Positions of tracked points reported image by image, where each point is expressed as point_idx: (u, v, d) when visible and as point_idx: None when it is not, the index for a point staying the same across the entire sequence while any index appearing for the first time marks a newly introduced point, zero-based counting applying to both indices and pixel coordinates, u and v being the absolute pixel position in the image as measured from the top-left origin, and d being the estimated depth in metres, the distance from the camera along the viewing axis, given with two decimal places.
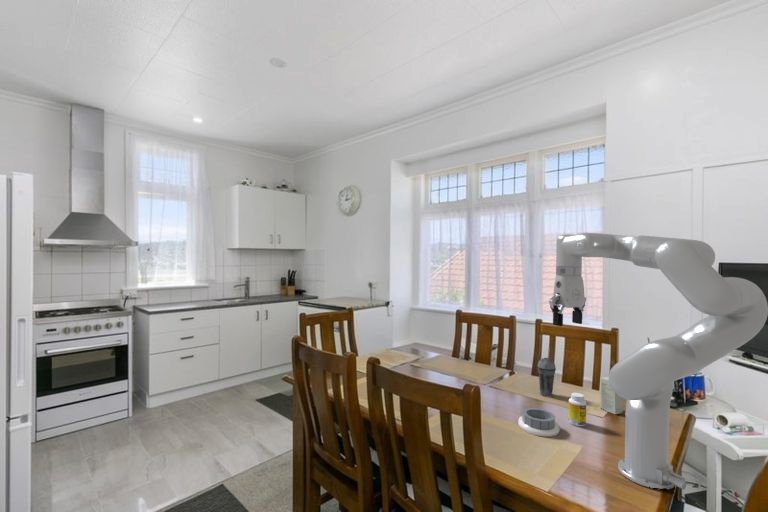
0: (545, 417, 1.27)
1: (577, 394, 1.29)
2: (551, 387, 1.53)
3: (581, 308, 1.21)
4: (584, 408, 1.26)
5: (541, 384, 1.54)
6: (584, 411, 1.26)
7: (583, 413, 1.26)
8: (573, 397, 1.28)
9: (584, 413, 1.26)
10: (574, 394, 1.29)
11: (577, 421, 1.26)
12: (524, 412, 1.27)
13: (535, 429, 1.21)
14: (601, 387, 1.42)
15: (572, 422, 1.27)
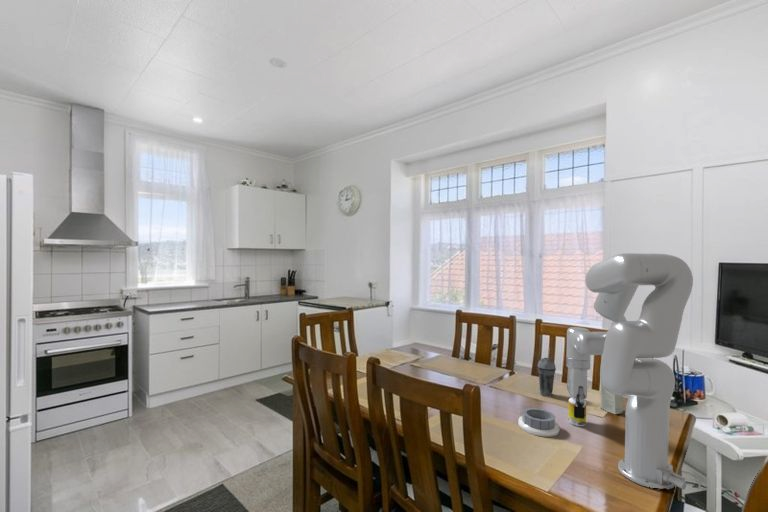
0: (545, 417, 1.27)
1: None
2: (551, 387, 1.53)
3: (575, 402, 1.26)
4: None
5: (541, 384, 1.54)
6: None
7: None
8: (573, 397, 1.28)
9: None
10: None
11: (577, 421, 1.26)
12: (524, 412, 1.27)
13: (535, 429, 1.21)
14: (601, 387, 1.42)
15: (572, 422, 1.27)
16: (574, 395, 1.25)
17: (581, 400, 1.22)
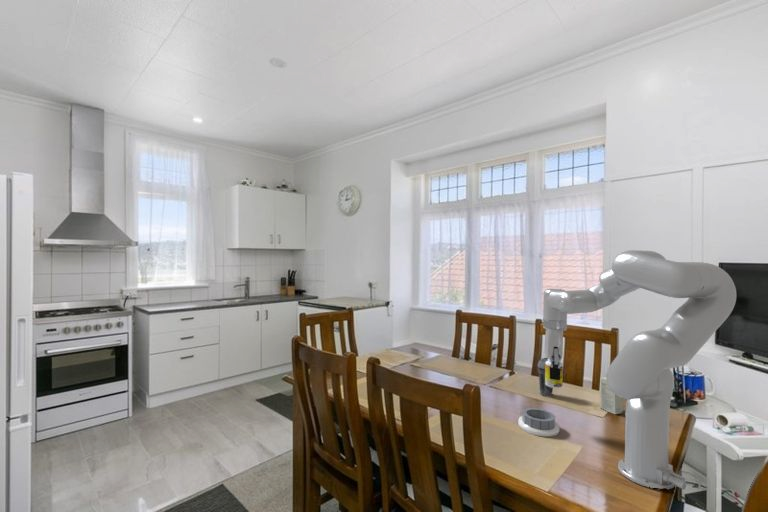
0: (545, 417, 1.27)
1: None
2: None
3: None
4: (560, 370, 1.24)
5: (541, 384, 1.54)
6: (561, 373, 1.24)
7: None
8: (549, 359, 1.26)
9: (560, 375, 1.24)
10: None
11: (553, 383, 1.24)
12: (524, 412, 1.27)
13: (535, 429, 1.21)
14: (601, 387, 1.42)
15: (548, 384, 1.25)
16: (549, 356, 1.23)
17: (555, 360, 1.20)
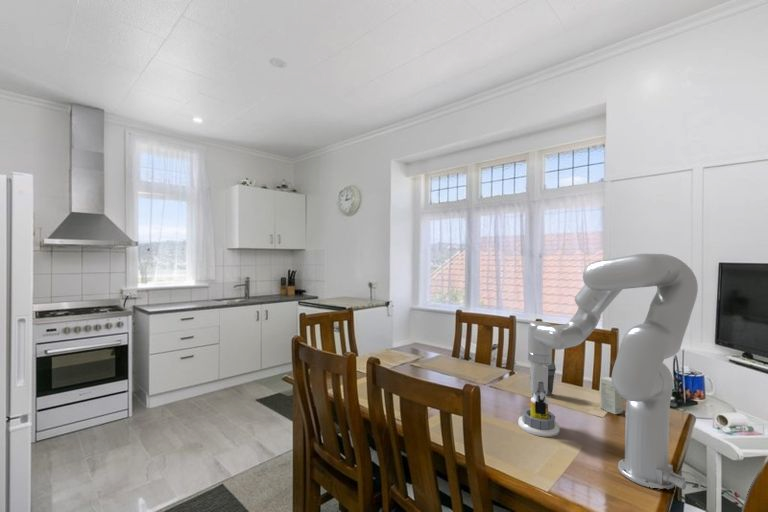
0: None
1: None
2: (551, 387, 1.53)
3: (536, 397, 1.21)
4: None
5: None
6: (546, 410, 1.23)
7: None
8: (535, 396, 1.24)
9: None
10: None
11: None
12: (524, 412, 1.27)
13: (535, 429, 1.21)
14: (600, 387, 1.42)
15: None
16: (534, 391, 1.21)
17: (541, 393, 1.17)
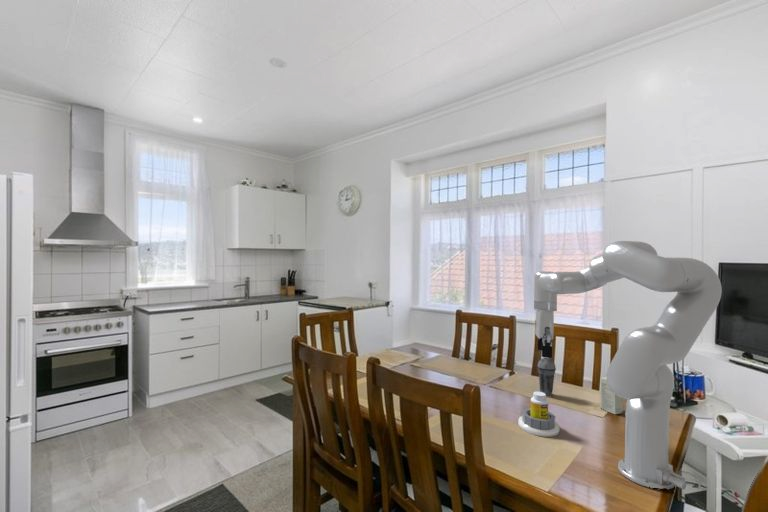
0: None
1: (539, 393, 1.25)
2: (551, 387, 1.53)
3: (542, 342, 1.26)
4: (545, 407, 1.23)
5: (541, 384, 1.54)
6: (546, 410, 1.23)
7: (544, 413, 1.23)
8: (535, 396, 1.24)
9: (545, 412, 1.23)
10: (536, 393, 1.25)
11: None
12: (524, 412, 1.27)
13: (535, 429, 1.21)
14: (601, 387, 1.42)
15: None
16: (541, 336, 1.26)
17: (548, 335, 1.22)
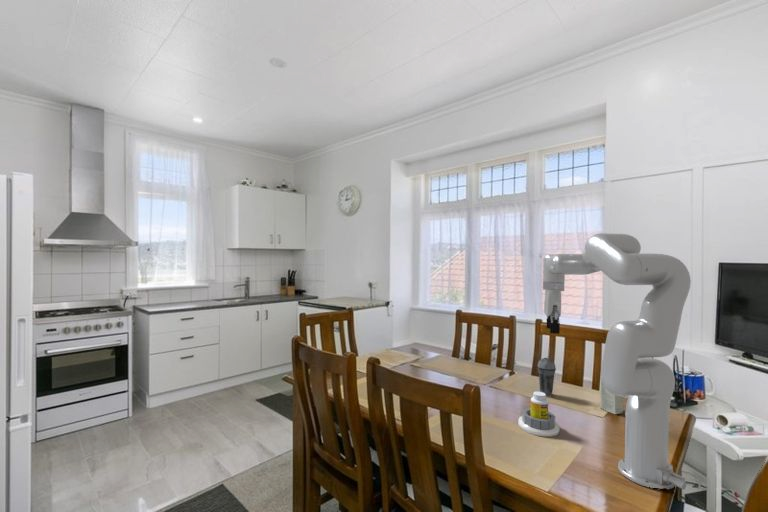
0: None
1: (539, 393, 1.25)
2: (551, 387, 1.53)
3: (551, 319, 1.36)
4: (545, 407, 1.23)
5: (541, 384, 1.54)
6: (546, 410, 1.23)
7: (544, 413, 1.23)
8: (535, 396, 1.25)
9: (545, 412, 1.23)
10: (536, 393, 1.25)
11: None
12: (524, 412, 1.27)
13: (535, 429, 1.21)
14: (600, 387, 1.42)
15: None
16: (549, 314, 1.36)
17: (555, 312, 1.32)
